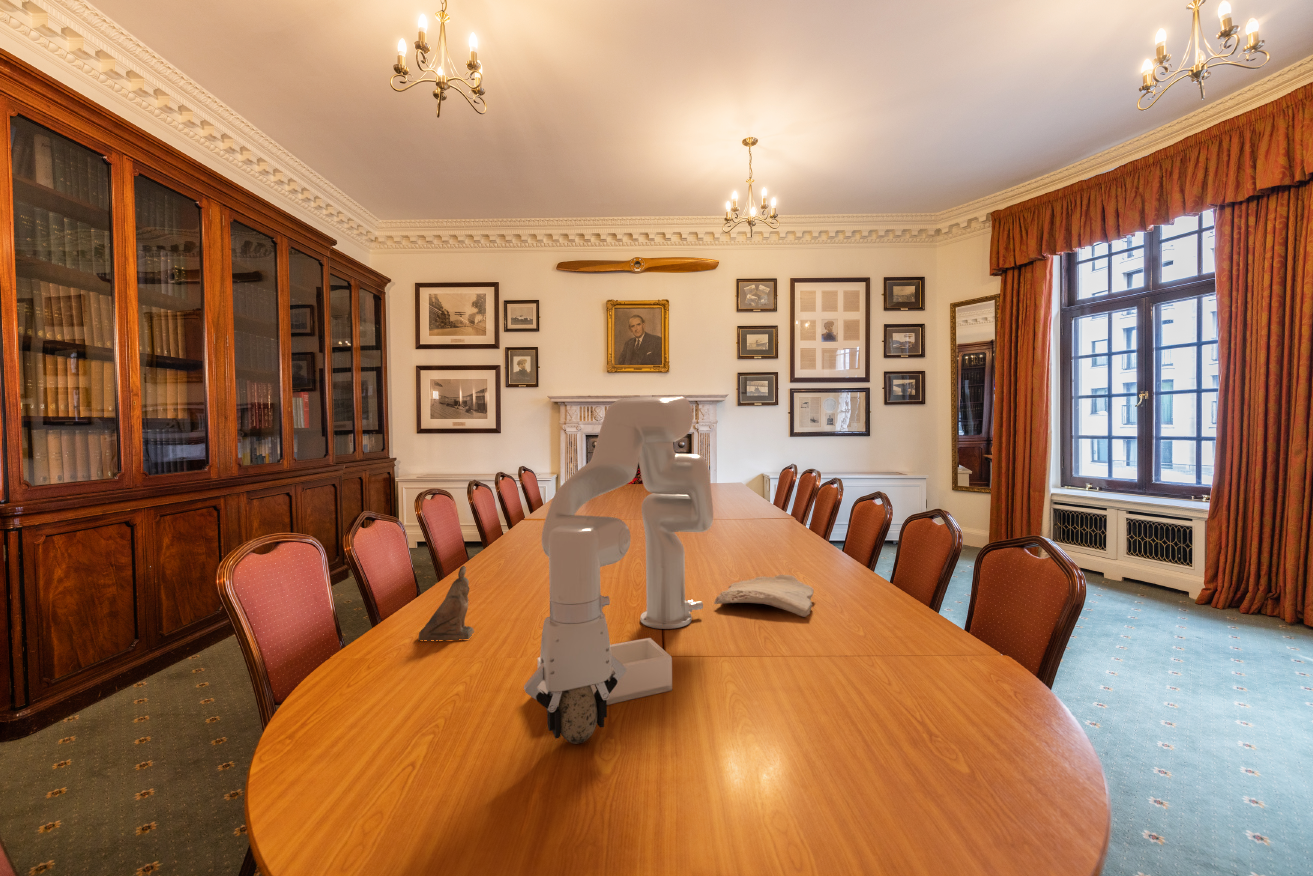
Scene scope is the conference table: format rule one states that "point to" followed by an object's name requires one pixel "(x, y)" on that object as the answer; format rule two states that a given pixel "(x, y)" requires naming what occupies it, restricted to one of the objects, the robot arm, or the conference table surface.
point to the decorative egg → (577, 714)
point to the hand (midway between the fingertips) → (577, 727)
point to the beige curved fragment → (771, 593)
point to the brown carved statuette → (450, 614)
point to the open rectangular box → (638, 670)
